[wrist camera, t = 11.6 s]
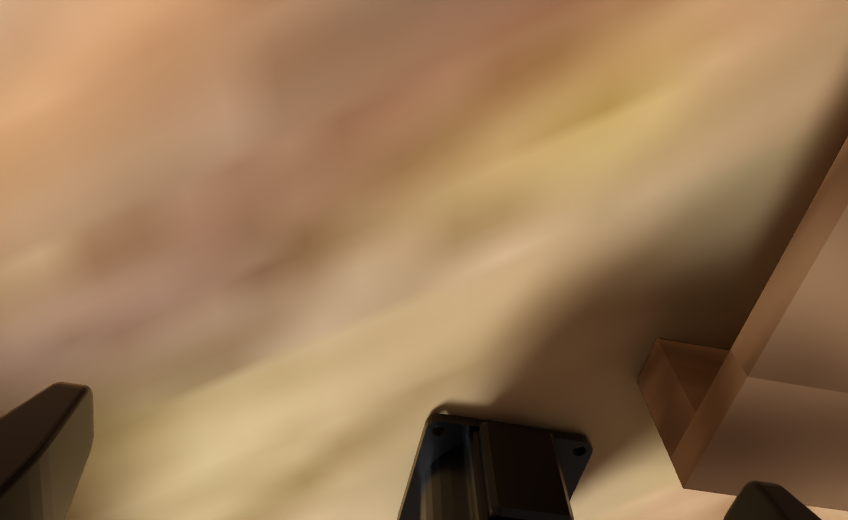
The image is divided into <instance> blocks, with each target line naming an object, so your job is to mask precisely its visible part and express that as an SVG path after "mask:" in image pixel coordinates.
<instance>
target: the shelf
mask: <svg viewBox="0 0 848 520" xmlns="http://www.w3.org/2000/svg"><path fill="white" fill-rule="evenodd" d="M637 383H638V385H639V388H640V390H641V392H642V395H643V397H644V399H645V402H646V404H647V406H648V408H649V411H650V413H651V415H652V418H653V420H654V422H655V425H656V427H657V429H658V431H659V434H660V436H661V438H662V441H663V443H664V445H665V448H666V450H667V452H668V455H669V457H670V459H671V461H672V464H673V466H674V468H675V471H676V473H677V475H678V478H679V480H680V482H681V485H682V487H683V488H684V489H691V490H699V491H706V492H713V493H720V494H727V495H735V496H738V494H739V493H740V491H741V490H742V488H743V486H744V485H745V484H746V483H748V482H749V481H752V480H757V481H764V482H771V483H776V484H779V485H781V486H782V487H784V488H785V489H786V490H787V491H788V492H790V493H791V494H792V495H793V496H794V497H796V498H797V499H798V500H799V501H800V502H801V503H803V504H804V505H807V506H814V507H821V508H829V509H836V510H843V511H848V137H847V139H846V140H845V142H844V144H843V146H842V148H841V150H840V151H839V153H838V155H837V157H836V159H835V160H834V162H833V164H832V166H831V168H830V170H829V171H828V173H827V175H826V177H825V179H824V180H823V182H822V184H821V186H820V188H819V190H818V191H817V193H816V195H815V197H814V199H813V200H812V202H811V204H810V206H809V208H808V210H807V211H806V213H805V215H804V217H803V219H802V220H801V222H800V224H799V226H798V228H797V230H796V231H795V233H794V235H793V237H792V239H791V241H790V242H789V244H788V246H787V248H786V250H785V251H784V253H783V255H782V257H781V259H780V261H779V262H778V264H777V266H776V268H775V270H774V271H773V273H772V275H771V277H770V279H769V281H768V282H767V284H766V286H765V288H764V290H763V291H762V293H761V295H760V297H759V299H758V301H757V302H756V304H755V306H754V308H753V310H752V311H751V313H750V315H749V317H748V319H747V321H746V322H745V324H744V326H743V328H742V330H741V331H740V333H739V335H738V337H737V339H736V341H735V342H734V344H733V346H732V348H731V350H724V349H718V348H712V347H706V346H700V345H694V344H688V343H682V342H676V341H670V340H664V339H658V338H657V340H656V342H655V344H654V346H653V348H652V350H651V352H650V354H649V357H648V359H647V361H646V363H645V365H644V367H643V369H642V371H641V373H640V375H639V377H638V379H637Z"/></svg>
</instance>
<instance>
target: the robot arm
mask: <svg viewBox="0 0 848 520" xmlns="http://www.w3.org/2000/svg"><path fill="white" fill-rule="evenodd" d="M437 426H442V428H439V429H437V428H435V427H437ZM93 437H94V416H93V393H92V390H91V388H89V387H88V386H86V385H79V384H72V383H65V382H57V383H54V384H52V385H50V386H49V387H47V388H46V389H44V390H42V391H41V392H39V393H38V394H36V395H35V396H33V397H32V398H30V399H28V400H27V401H25V402H24V403H22V404H21V405H19V406H17V407H16V408H14V409H13V410H11V411H10V412H8V413H7V414H5V415H3V416H2V417H0V520H65V517H66V515H67V512H68V509H69V507H70V504H71V501H72V499H73V496H74V493H75V491H76V488H77V485H78V483H79V480H80V477H81V475H82V472H83V469H84V467H85V464H86V462H87V459H88V456H89V453H90V451H91V447H92V443H93ZM580 446H582V447H580ZM576 447H580V448H576ZM592 450H593V449H592V446H591V443H590V440H589V438H588V437H587V436H585V435H582V434H576V433H570V432H563V431H556V430H549V429H542V428H535V427H528V426H522V425H515V424H508V423H501V422H494V421H487V420H481V419H474V418H467V417H460V416H453V415H446V414H434V415H431V416H430V417H428V418H427V420H426V422H425V425H424V429H423V432H422V436H421V439H420V442H419V446H418V449H417V452H416V456H415V459H414V463H413V466H412V469H411V473H410V476H409V480H408V483H407V486H406V490H405V493H404V497H403V500H402V503H401V507H400V510H399V514H398V517H397V520H574V517H573V513H572V509H571V505H570V499H571V497H572V494H573V492H574V490H575V488H576V486H577V484H578V482H579V480H580V477H581V475H582V473H583V471H584V469H585V467H586V465H587V462H588V460H589V458H590V456H591V454H592ZM724 520H821V519H820V518H819V517H818V516H817V515H815V514H814V513H813V512H812V511H811V510H810V509H808V508H807V507H806V506H805V505H804V504H803V503H801V502H800V501H799V500H798V499H797V498H796V497H794V496H793V495H792V494H791V493H790V492H788V491H787V490H786V489H785V488H784V487H782V486H781V485H779V484H776V483H771V482H764V481H757V480H752V481H749V482H748V483H746V484H745V485H744V486H743V488H742V490H741V491H740V493H739V494H738V496H737V497H736V499H735V501H734V502H733V504H732V505H731V507H730V508H729V510H728V512H727V513H726V515H725V517H724Z"/></svg>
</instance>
